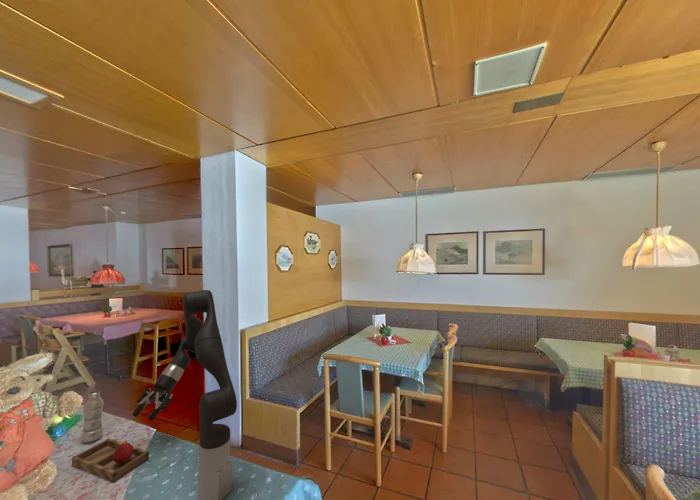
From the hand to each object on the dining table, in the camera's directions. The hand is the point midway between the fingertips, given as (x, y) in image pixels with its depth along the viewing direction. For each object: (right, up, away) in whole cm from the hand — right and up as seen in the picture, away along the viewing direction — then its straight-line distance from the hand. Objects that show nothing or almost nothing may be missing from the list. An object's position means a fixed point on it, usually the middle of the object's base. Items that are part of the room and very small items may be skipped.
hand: (141, 418), depth 111 cm
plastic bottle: (-27, -14, +7) cm, 31 cm away
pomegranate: (-2, -13, -7) cm, 15 cm away
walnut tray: (-8, -13, -5) cm, 16 cm away
